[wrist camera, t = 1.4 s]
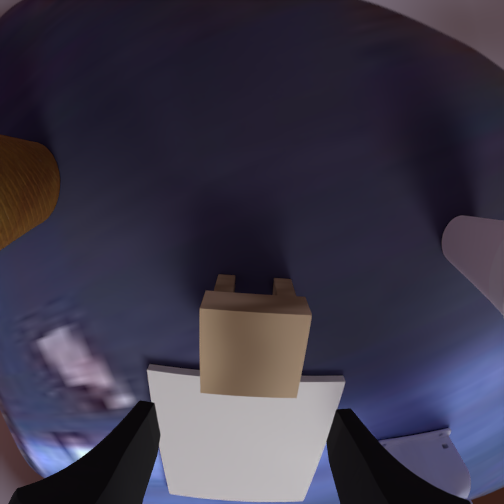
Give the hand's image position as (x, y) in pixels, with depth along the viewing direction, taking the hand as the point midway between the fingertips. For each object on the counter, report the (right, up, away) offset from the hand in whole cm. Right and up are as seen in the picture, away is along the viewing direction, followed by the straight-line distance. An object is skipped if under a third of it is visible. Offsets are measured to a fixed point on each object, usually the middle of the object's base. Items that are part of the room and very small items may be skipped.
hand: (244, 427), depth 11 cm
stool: (0, +3, +10) cm, 11 cm away
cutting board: (-1, -11, +14) cm, 18 cm away
